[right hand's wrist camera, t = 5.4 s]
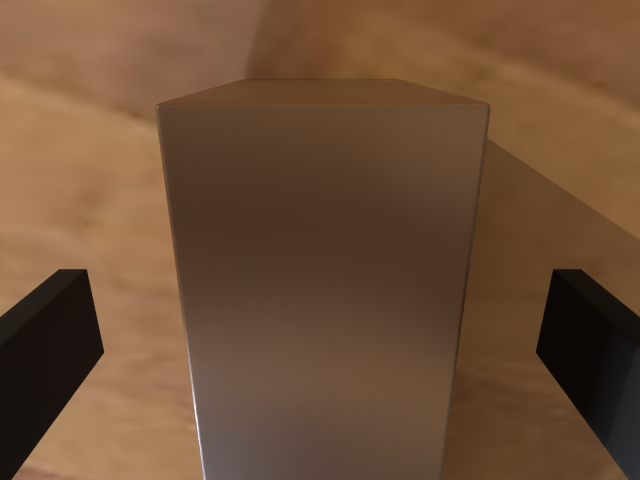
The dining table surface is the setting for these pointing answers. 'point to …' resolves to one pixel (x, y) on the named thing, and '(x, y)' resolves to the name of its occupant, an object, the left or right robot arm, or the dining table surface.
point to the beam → (322, 271)
